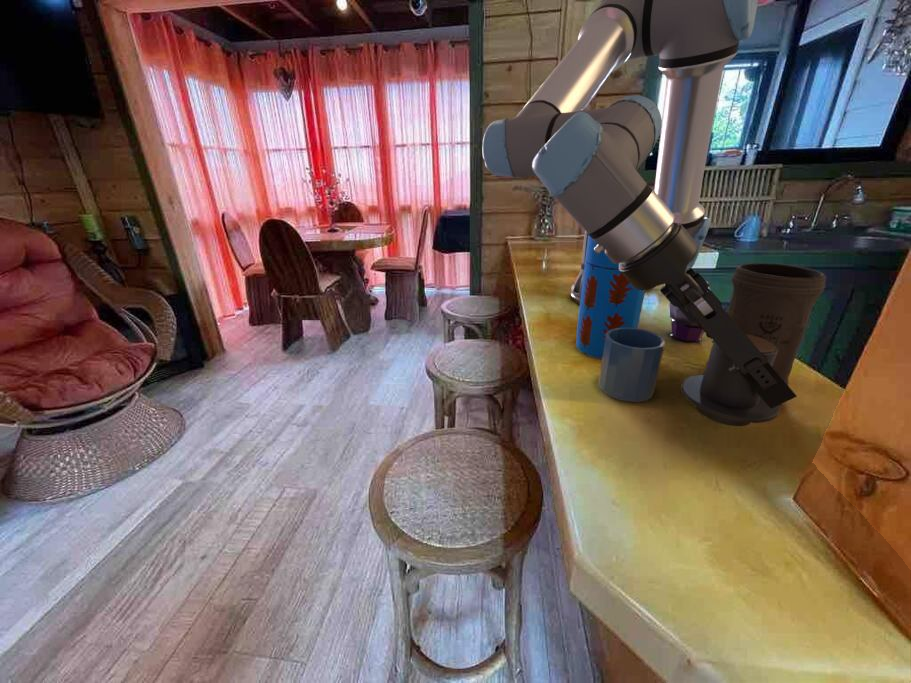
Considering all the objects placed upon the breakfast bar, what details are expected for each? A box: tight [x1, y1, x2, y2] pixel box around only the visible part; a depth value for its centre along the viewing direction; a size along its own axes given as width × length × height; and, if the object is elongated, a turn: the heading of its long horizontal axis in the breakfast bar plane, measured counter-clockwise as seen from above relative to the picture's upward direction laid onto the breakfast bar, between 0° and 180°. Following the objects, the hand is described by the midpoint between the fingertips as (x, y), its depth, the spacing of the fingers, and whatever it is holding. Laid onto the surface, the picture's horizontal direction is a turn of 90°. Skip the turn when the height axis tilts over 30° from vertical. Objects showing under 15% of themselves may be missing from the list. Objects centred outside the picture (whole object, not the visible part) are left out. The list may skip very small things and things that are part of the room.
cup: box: [598, 327, 666, 403], centre depth 59 cm, size 8×8×9 cm
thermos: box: [575, 235, 646, 360], centre depth 69 cm, size 11×11×25 cm
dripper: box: [680, 334, 781, 427], centre depth 45 cm, size 10×10×10 cm
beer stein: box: [701, 262, 827, 407], centre depth 57 cm, size 15×11×20 cm
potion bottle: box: [669, 280, 712, 343], centre depth 76 cm, size 9×9×12 cm
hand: (766, 385), depth 45 cm, fingers closed on dripper, 6 cm apart
